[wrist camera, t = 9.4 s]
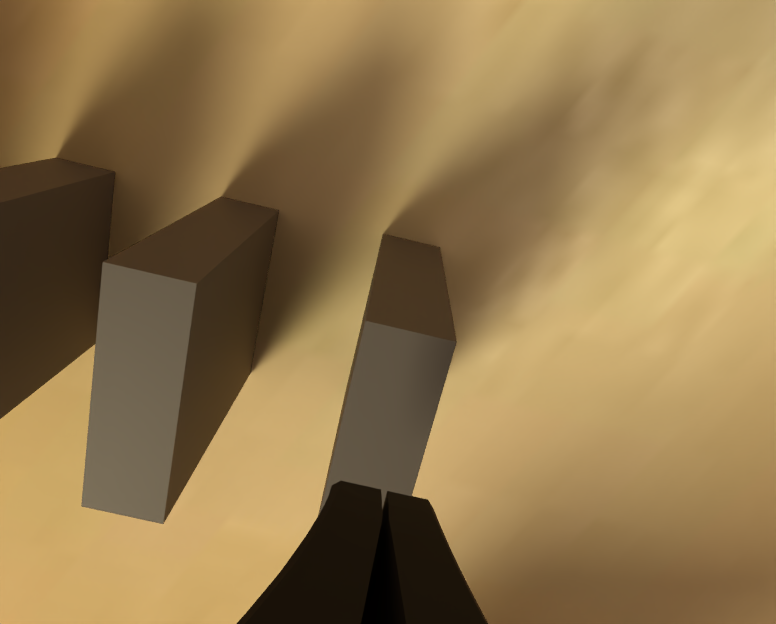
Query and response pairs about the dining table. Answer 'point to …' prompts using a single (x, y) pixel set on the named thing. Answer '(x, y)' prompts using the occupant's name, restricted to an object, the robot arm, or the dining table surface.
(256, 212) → the domino
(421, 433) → the loose domino
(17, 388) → the domino
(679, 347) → the dining table surface
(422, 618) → the robot arm
